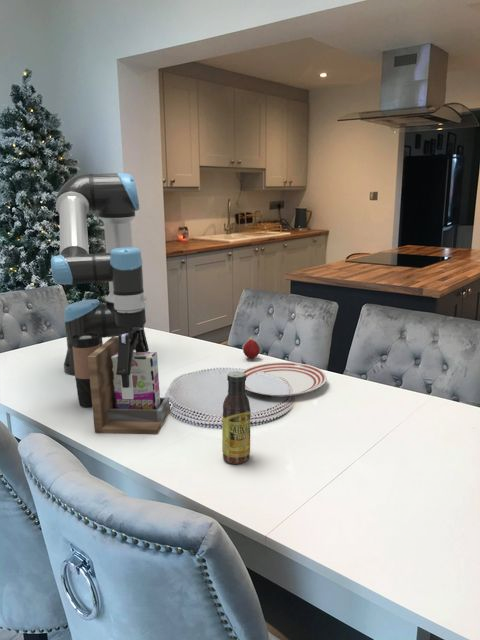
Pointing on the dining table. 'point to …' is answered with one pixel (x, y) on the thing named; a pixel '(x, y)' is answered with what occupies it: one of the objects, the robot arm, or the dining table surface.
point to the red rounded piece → (251, 349)
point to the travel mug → (84, 365)
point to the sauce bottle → (236, 420)
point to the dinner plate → (291, 376)
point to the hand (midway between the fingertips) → (135, 388)
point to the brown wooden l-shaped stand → (104, 399)
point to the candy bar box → (139, 382)
